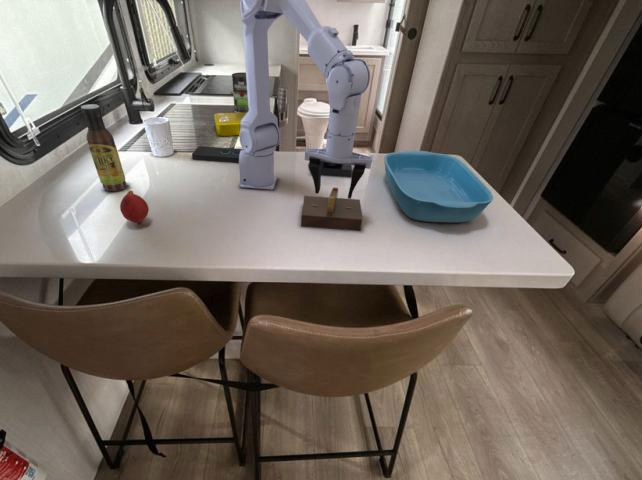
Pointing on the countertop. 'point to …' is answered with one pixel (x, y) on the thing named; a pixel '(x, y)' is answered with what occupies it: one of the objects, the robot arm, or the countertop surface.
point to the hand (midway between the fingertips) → (333, 194)
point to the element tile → (228, 123)
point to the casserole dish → (435, 187)
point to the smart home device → (216, 154)
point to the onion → (134, 207)
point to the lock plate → (331, 213)
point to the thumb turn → (332, 199)
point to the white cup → (159, 136)
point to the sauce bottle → (103, 150)
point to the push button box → (336, 169)
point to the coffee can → (240, 92)
